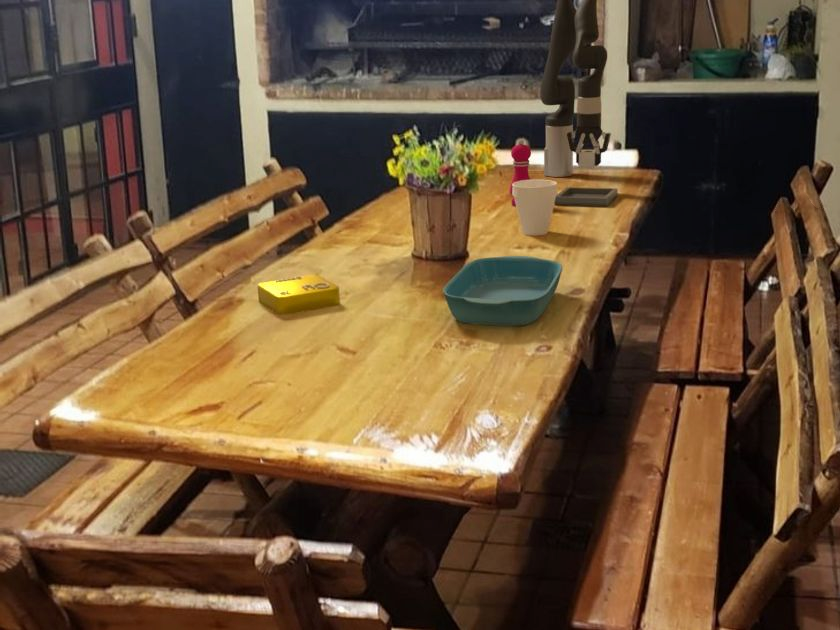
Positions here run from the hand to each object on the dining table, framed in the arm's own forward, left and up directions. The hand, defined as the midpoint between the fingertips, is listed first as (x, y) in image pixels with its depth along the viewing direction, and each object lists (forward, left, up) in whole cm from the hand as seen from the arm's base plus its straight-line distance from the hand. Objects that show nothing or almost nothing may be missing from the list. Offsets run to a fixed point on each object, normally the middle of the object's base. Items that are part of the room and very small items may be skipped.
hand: (588, 164), depth 367 cm
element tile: (-35, -136, -9) cm, 140 cm away
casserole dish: (+11, -128, -9) cm, 129 cm away
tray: (+2, -14, -9) cm, 16 cm away
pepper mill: (-16, -23, -9) cm, 29 cm away
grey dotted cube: (0, 0, -1) cm, 1 cm away
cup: (-2, -59, -9) cm, 59 cm away
